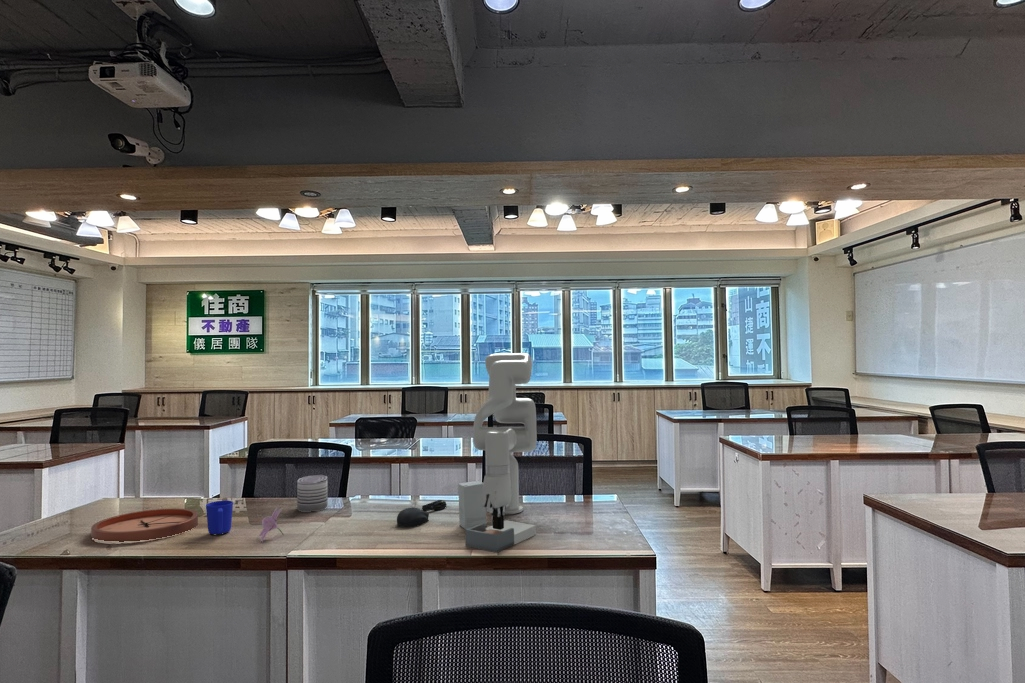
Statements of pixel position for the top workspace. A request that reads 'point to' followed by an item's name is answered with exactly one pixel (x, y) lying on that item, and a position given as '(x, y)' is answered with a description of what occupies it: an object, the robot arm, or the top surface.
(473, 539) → the bin
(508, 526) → the plate
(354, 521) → the top surface
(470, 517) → the skincare box
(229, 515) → the mug
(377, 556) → the top surface
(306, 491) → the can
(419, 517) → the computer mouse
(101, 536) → the clock
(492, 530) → the tile
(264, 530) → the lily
